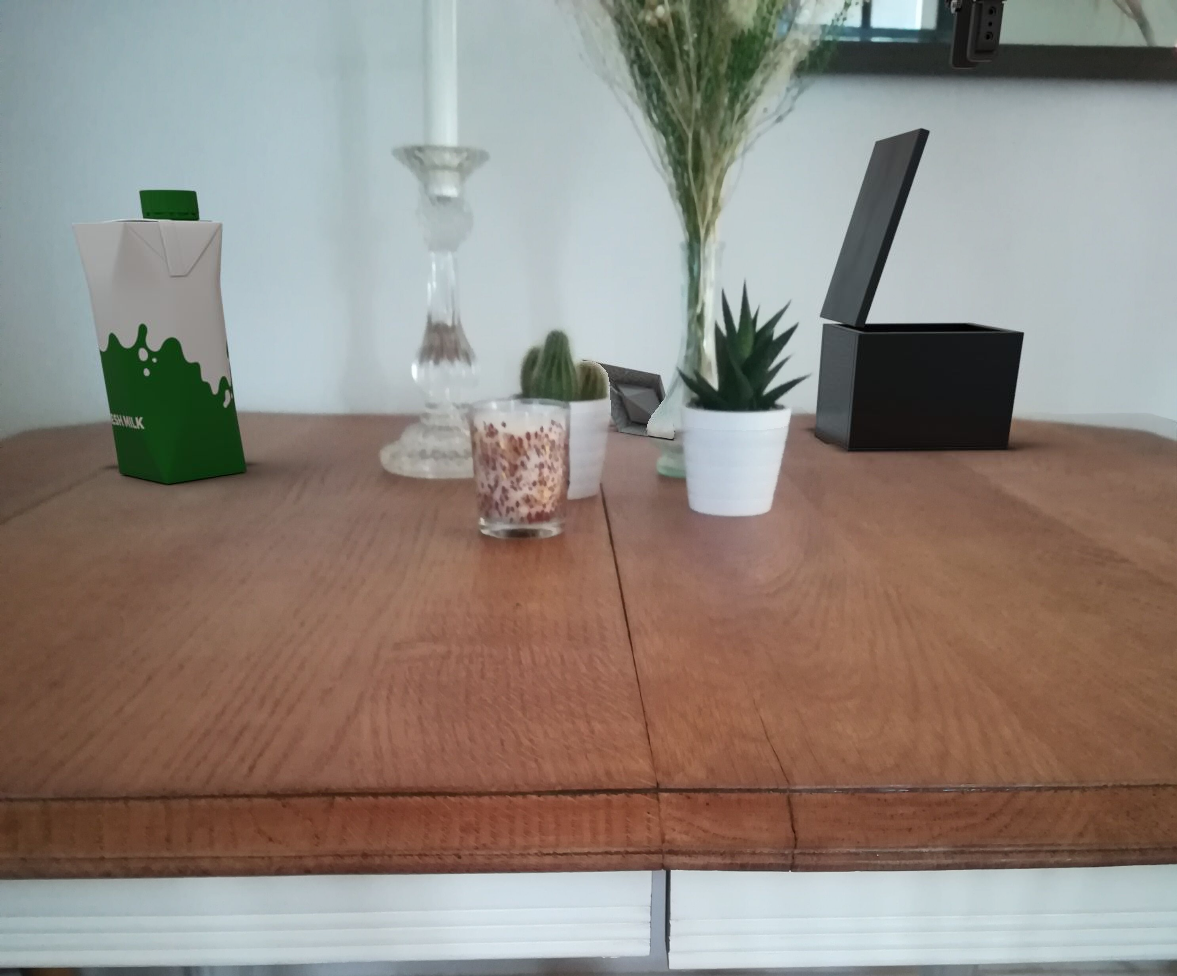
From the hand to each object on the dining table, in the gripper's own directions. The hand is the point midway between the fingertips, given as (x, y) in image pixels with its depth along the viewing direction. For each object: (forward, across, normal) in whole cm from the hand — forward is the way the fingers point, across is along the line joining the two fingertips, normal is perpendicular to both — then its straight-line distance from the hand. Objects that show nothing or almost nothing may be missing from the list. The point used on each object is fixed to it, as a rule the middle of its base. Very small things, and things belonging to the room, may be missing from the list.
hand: (972, 63), depth 91 cm
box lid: (+12, 0, +7) cm, 14 cm away
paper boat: (+29, +9, +26) cm, 40 cm away
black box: (+29, 0, +2) cm, 29 cm away
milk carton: (+29, -10, +63) cm, 70 cm away
